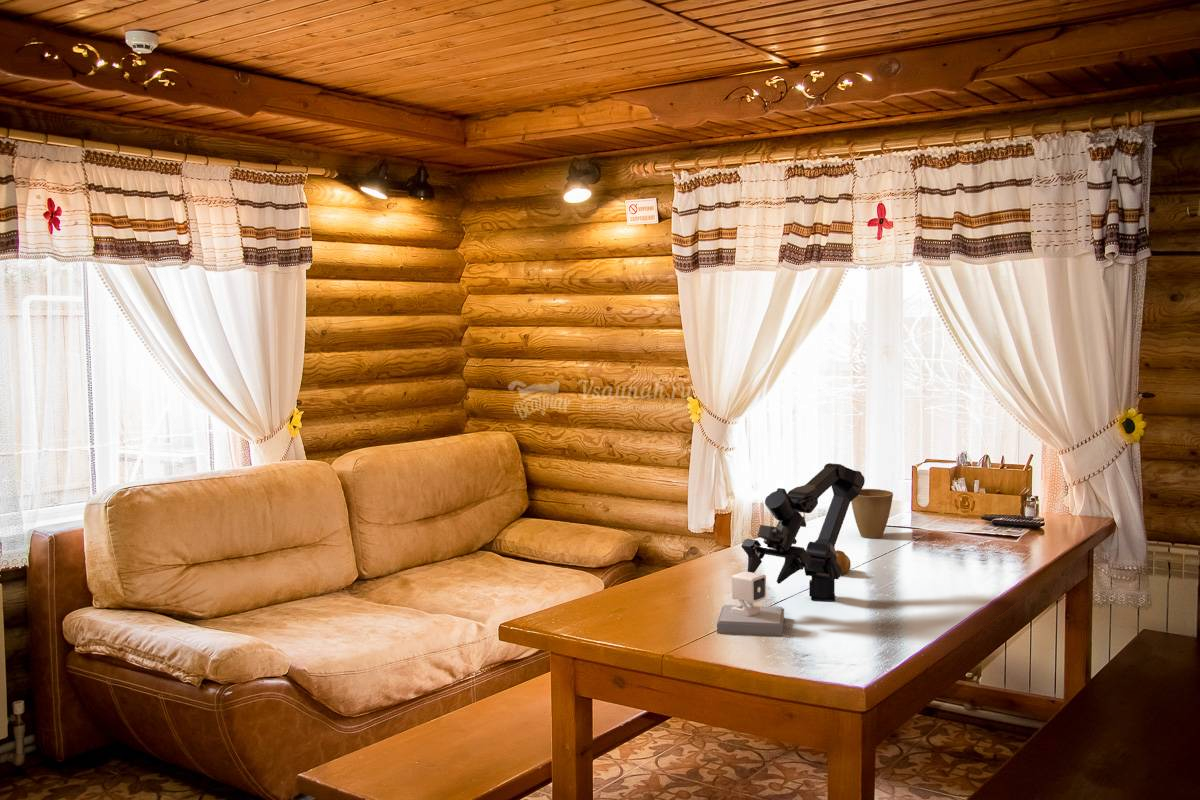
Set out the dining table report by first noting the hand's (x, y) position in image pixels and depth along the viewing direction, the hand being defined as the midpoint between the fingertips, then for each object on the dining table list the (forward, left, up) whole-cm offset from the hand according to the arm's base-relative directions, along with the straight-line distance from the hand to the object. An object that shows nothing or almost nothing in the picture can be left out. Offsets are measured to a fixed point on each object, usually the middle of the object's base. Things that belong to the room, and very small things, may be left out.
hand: (762, 579), depth 272 cm
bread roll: (-17, -56, -11) cm, 60 cm away
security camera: (+4, +4, -8) cm, 10 cm away
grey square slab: (+3, +5, -11) cm, 12 cm away
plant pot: (-32, -111, -11) cm, 117 cm away
